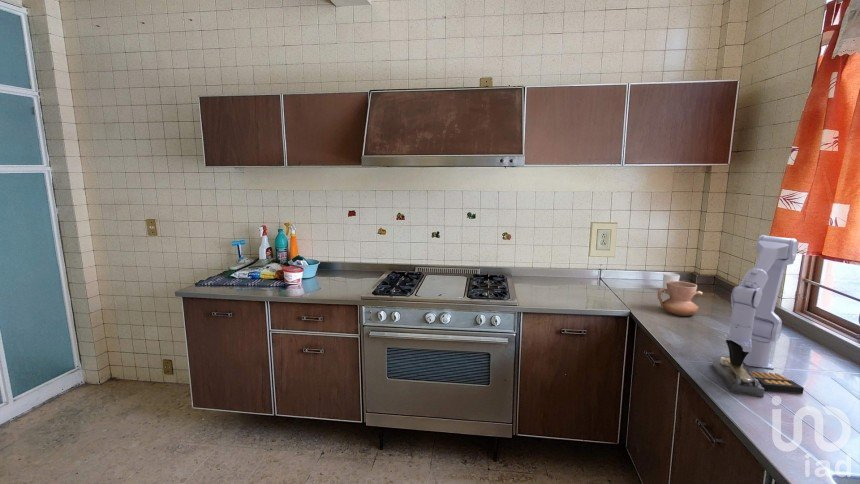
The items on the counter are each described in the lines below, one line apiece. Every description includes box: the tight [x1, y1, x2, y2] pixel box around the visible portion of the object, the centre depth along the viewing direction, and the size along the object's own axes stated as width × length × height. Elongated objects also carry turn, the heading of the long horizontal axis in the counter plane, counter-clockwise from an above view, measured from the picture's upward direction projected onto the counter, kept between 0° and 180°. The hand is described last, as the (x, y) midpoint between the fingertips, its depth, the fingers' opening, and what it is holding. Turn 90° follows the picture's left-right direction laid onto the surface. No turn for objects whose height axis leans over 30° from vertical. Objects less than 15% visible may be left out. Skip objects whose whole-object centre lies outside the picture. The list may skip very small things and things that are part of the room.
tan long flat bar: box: [725, 357, 753, 384], centre depth 133 cm, size 15×3×1 cm, turn 161°
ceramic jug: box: [657, 280, 703, 317], centre depth 197 cm, size 18×14×14 cm
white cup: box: [662, 272, 681, 289], centre depth 232 cm, size 8×8×10 cm
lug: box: [719, 356, 744, 366], centre depth 139 cm, size 2×6×2 cm, turn 72°
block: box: [711, 357, 766, 398], centre depth 134 cm, size 19×8×4 cm, turn 161°
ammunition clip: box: [750, 370, 805, 394], centre depth 133 cm, size 11×2×12 cm
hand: (735, 364), depth 136 cm, fingers closed on tan long flat bar
